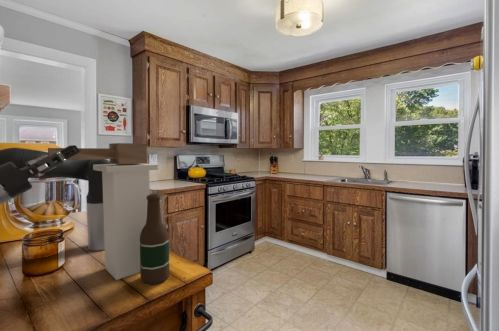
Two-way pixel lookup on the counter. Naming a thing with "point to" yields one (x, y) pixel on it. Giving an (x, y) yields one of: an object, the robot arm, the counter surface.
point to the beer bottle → (154, 245)
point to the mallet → (111, 153)
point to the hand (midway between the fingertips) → (75, 148)
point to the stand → (124, 215)
